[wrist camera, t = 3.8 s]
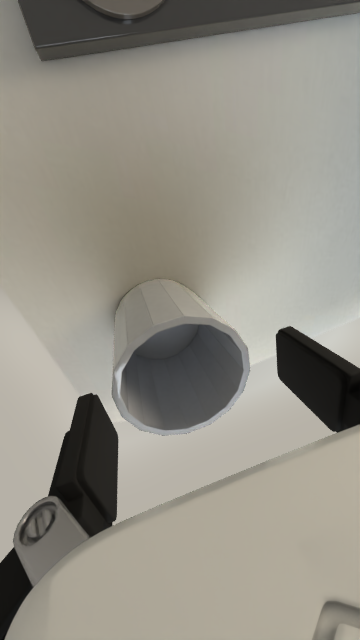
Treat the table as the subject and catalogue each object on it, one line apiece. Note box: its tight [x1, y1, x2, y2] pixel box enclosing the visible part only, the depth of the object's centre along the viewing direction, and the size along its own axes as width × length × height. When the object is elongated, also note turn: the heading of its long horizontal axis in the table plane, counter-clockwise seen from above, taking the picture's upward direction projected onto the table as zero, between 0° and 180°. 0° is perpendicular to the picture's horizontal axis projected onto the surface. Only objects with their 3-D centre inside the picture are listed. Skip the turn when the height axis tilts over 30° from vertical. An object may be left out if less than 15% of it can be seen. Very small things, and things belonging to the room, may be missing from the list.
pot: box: [112, 279, 250, 436], centre depth 15 cm, size 7×7×8 cm
